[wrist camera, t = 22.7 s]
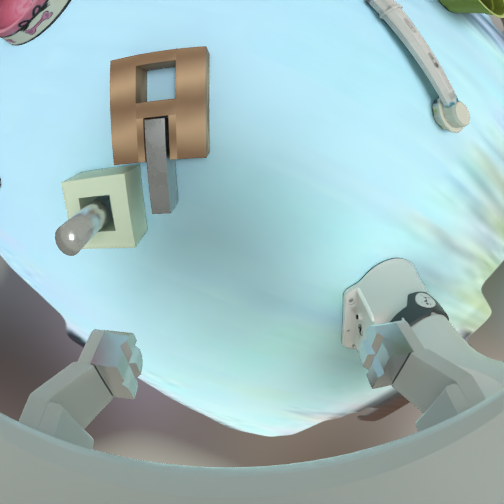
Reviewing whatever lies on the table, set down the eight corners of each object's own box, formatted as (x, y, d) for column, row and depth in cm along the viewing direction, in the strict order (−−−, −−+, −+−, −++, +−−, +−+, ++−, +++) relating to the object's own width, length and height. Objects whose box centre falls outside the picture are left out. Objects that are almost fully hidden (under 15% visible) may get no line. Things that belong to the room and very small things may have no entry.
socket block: (209, 152, 35) (206, 157, 31) (126, 159, 34) (114, 165, 30) (209, 54, 28) (206, 46, 24) (123, 65, 28) (110, 60, 24)
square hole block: (147, 229, 40) (135, 247, 34) (92, 231, 39) (75, 248, 34) (139, 164, 35) (124, 173, 30) (82, 171, 34) (61, 182, 29)
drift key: (178, 201, 38) (170, 213, 34) (161, 201, 38) (152, 213, 33) (173, 117, 32) (164, 117, 28) (155, 119, 32) (144, 120, 28)
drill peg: (126, 210, 38) (83, 255, 26) (105, 211, 38) (59, 255, 25) (122, 187, 36) (76, 224, 24) (102, 189, 36) (51, 226, 24)
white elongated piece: (391, -14, 19) (483, 125, 26) (376, 2, 26) (459, 124, 33) (368, -7, 21) (466, 139, 28) (354, 10, 27) (442, 137, 34)
